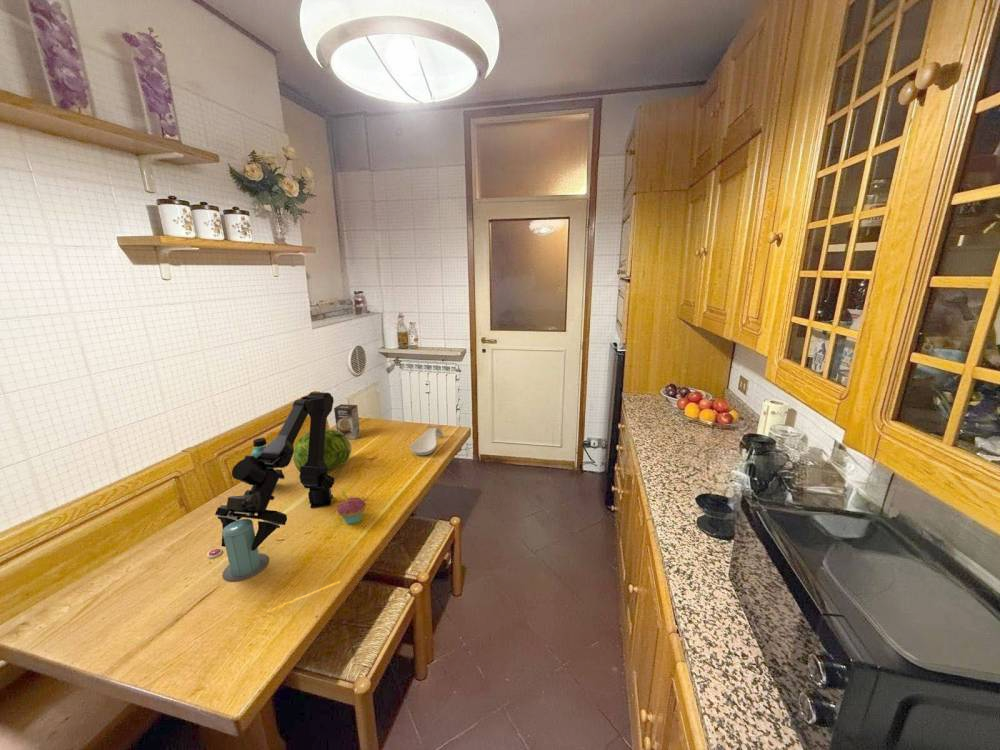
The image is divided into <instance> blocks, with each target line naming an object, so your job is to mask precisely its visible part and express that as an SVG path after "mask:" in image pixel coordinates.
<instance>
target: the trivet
mask: <svg viewBox="0 0 1000 750" xmlns="http://www.w3.org/2000/svg"><path fill="white" fill-rule="evenodd" d="M259 556H260V563H261V565H260V566H259V567H258V568H257V569H256V570H255V571H253V572H252V573H249V574H246V575H243V576H234V575H232V574H231V569H230V565H229V564H228V565H227V566H226V567H225V568H224V570H223V572H222V576H221V577H222V579H223V580H224V581H225V582H228V583H237V582H239V583H240V582H243V581H246V580H249V579H251V578H253V577H255V576H257V575H259V574H260V573H261V572H263V571H264V570H265V569H266V568H267V566H268V565H269V564H270V563H269V562H270V557H269V556H268V555H267V554H265V553H260V552H259Z"/></svg>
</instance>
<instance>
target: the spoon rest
mask: <svg viewBox="0 0 1000 750" xmlns="http://www.w3.org/2000/svg"><path fill="white" fill-rule="evenodd" d="M436 437H443V438H444V435H443V431H442V429H441V428H439V427H437V428H436V427H430V428H428V429H426V431H425V432H424V433H422V435H420V437H418V438H417V439H416V440H414V441H413V442H412V443H411V444H410V447H409V449H410V451H411V452H412V453H413V454H415V455H416V456H428V455H430V454H431V453H433V452H434V451H435V450H436V448H437V447H438V446H437V445H438V441H437V439H438V438H436Z"/></svg>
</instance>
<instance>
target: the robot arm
mask: <svg viewBox="0 0 1000 750" xmlns="http://www.w3.org/2000/svg"><path fill="white" fill-rule="evenodd" d="M334 402H335V401H334V396H332V394H331V393H329V392H323V391H322V392H320V391H318V392H317V391H311V392H310V393H308V395H305V396H301V397H300V398H299V399H295V400H294V401H293V403H292V408H291V410H290V412H289V414H288V415H287V417H286V419H285V421H284V424H283V425H282V427H281V429H280V431H279V433H278V434H277V436H276V437H275V438H274V439H272V440H271V441H270V442H269V443H267V444H266V445H265V446H266V448H265V449H264V450H263V452H262V453H261V454H260V455H259V456H257V457H256V458H255V457H254V456H252V455H249V454H248V455H247V454H246V455H245V457H244V458H243V459H241V460H240V461H238V462H237V463H236V464H235V465H234V466H233V468H232V470H231V476H232V478H233V479H235V480H238V481H240V482H241V483H244V484H246V485H249V486H251V488H250V489H246V490H245V492H244V494H243V495H233V496H228V497H227V502H226V505H223V504H221V505H220V506H218V507H217V509H216V510H215V514H214V515H215V516H217V519H218V520H220V521H221V524H222V525H221V526H222V530H223V529H224V528H225V527H226V526H227V525H228V524H230V523H232V522H235V521H237V520H242V519H250V520H252V519H253V520H257V527H258V528H257V532H255V539H254V541H253V544H252V547H251V550H252V551H255V550H256V549H257V547H258V548H259V546H261V544H262V543H264V541H265V540H266V539H267V538H268V537H269V536H270V535H271V534H272V533H274V531H276V530H277V529H280V528H281V526H285V525H286V523H287V521H288V516H287V515H288V514H287V513H284V512H281V511H278V510H271V509H267V508H268V505H269V503H270V501H274V500H275V496H274V495H273V493H274V491H275V490H276V486H277V483H278V482H279V479H280V480H285V478H286V477H285V474H284V473H283V470H282V469H283V468H285V467H288V466H289V464H290V463H291V461H292V459H293V453H294V445H295V444H294V443H295V440H296V438H297V437H298V435H299V434H300V431H301V429H302V427H303V425H304V423H305V421H306V419H307V417H308V416H309V418H310V420H309V421H310V422H309V423H310V424H309V432H310V434H309V448H308V460H307V462H306V463H305V465H304V466H301V467H300V472H299V477H298V478H299V481H300V484H301V485H302V486H303V488H304V489H308V492H307V495H308V501H309V504H310V506H309V507H310V508H311V509H312V508H314V509H315V508H321V507H326V506H331V504H332V501H333V498H334V495H333V494H332V488H333V486H334V485H335V478H336V477H334V476H332V475H330V474H329V472H328V467H327V466H326V464H325V462H324V445H325V431H326V428H327V418H328V417H329V415H330V414H331V412H332V411H333V404H334ZM268 467H270V468H268ZM267 468H268V469H267ZM271 468H274V469H275V470H274V469H271ZM221 534H222V535H221V544H220V545H221V547H223V548H226V547H225V542H224V538H223V532H222V533H221Z"/></svg>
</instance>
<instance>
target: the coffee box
mask: <svg viewBox="0 0 1000 750" xmlns="http://www.w3.org/2000/svg"><path fill="white" fill-rule="evenodd" d="M333 410H334V411H333V412H334V418H335V419H334V420H335V425H336V426H335V427H336V431H338V432H339V433H341V434H343V435H344V436H345V437H346V438H347V439H348V440H350V439H355V440H356V439H358V438H359V437H360V436H361V428H360V421H359V419H360V418H359V410H358V405H357V404H344V403H343V404H342V403H341V404H339V405H337V406H335V407H334V408H333ZM359 435H360V436H359ZM358 436H359V437H358Z"/></svg>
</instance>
